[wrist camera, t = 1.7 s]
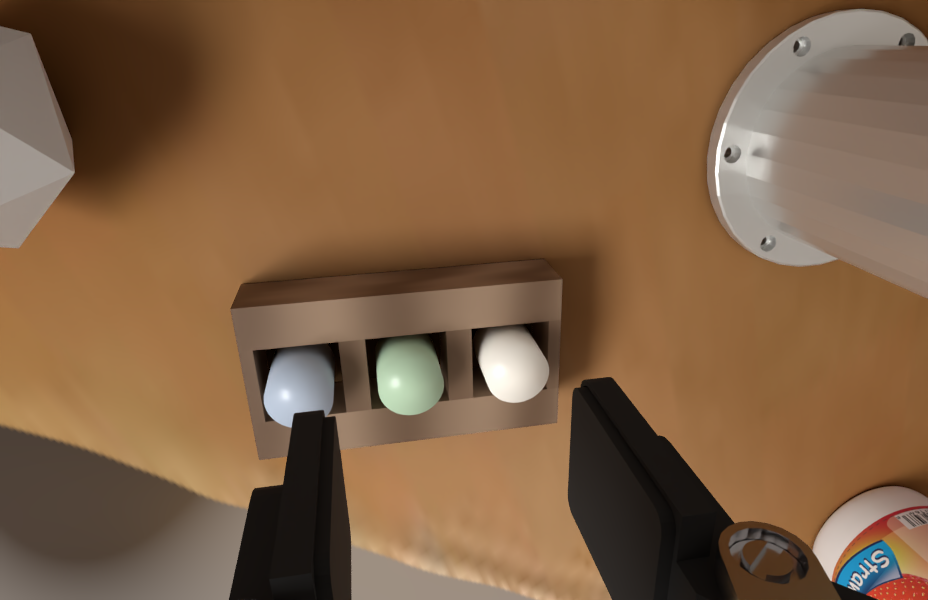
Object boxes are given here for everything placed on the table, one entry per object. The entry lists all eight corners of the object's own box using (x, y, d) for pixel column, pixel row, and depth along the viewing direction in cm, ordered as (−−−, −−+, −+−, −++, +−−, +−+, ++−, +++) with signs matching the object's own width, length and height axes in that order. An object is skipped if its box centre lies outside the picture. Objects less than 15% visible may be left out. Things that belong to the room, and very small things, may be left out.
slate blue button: (331, 332, 30) (329, 366, 27) (337, 385, 32) (336, 423, 28) (268, 338, 30) (258, 373, 27) (277, 391, 31) (269, 431, 28)
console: (544, 258, 32) (562, 279, 29) (540, 393, 35) (557, 422, 32) (241, 284, 30) (230, 308, 27) (266, 425, 33) (259, 460, 30)
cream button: (529, 312, 32) (549, 343, 29) (528, 364, 33) (548, 398, 30) (472, 318, 31) (486, 349, 28) (473, 370, 33) (487, 406, 29)
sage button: (433, 322, 31) (442, 354, 28) (435, 374, 32) (445, 411, 29) (372, 328, 31) (375, 361, 28) (377, 381, 32) (380, 418, 29)
